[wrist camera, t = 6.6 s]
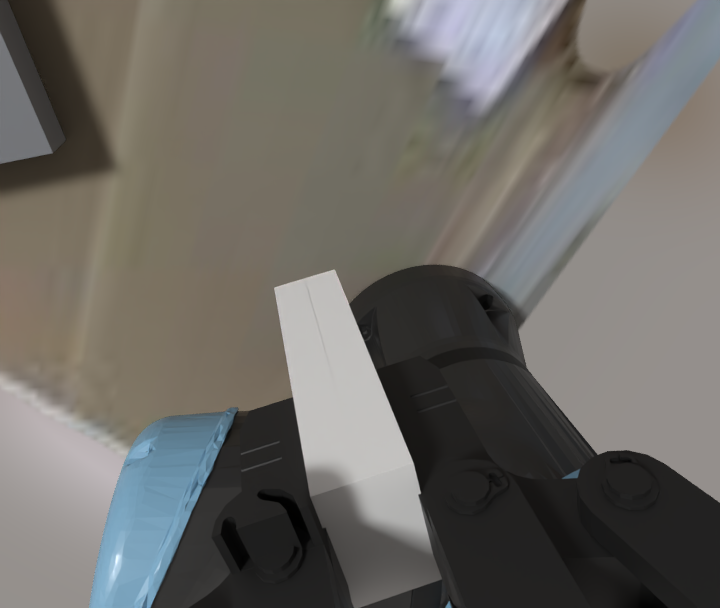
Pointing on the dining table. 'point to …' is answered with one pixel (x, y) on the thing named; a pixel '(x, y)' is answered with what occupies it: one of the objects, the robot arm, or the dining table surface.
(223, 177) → the dining table surface
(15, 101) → the rocker switch box
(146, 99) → the dining table surface
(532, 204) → the dining table surface
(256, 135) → the dining table surface
